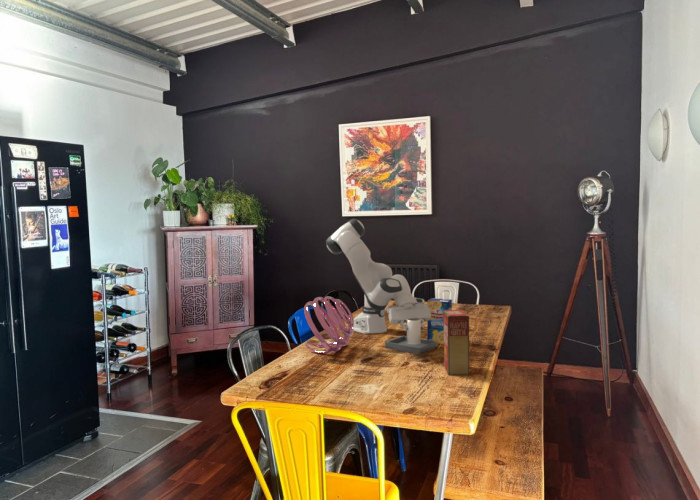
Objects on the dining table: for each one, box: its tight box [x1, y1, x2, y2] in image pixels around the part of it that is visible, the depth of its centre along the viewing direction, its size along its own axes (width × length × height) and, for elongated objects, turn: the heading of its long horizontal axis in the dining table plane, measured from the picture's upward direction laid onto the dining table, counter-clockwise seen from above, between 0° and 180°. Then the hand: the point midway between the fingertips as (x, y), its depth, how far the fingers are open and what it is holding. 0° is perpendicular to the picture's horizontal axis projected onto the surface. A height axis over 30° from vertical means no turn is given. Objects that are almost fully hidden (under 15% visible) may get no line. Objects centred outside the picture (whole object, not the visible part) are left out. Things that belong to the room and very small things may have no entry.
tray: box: [384, 335, 438, 355], centre depth 257 cm, size 20×16×3 cm
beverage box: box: [426, 297, 453, 345], centre depth 266 cm, size 7×11×22 cm, turn 62°
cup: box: [406, 318, 422, 345], centre depth 239 cm, size 6×6×11 cm
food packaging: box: [443, 309, 470, 376], centre depth 219 cm, size 13×9×25 cm
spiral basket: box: [303, 295, 354, 355], centre depth 253 cm, size 28×28×27 cm
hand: (414, 329), depth 239 cm, fingers closed on cup, 6 cm apart
